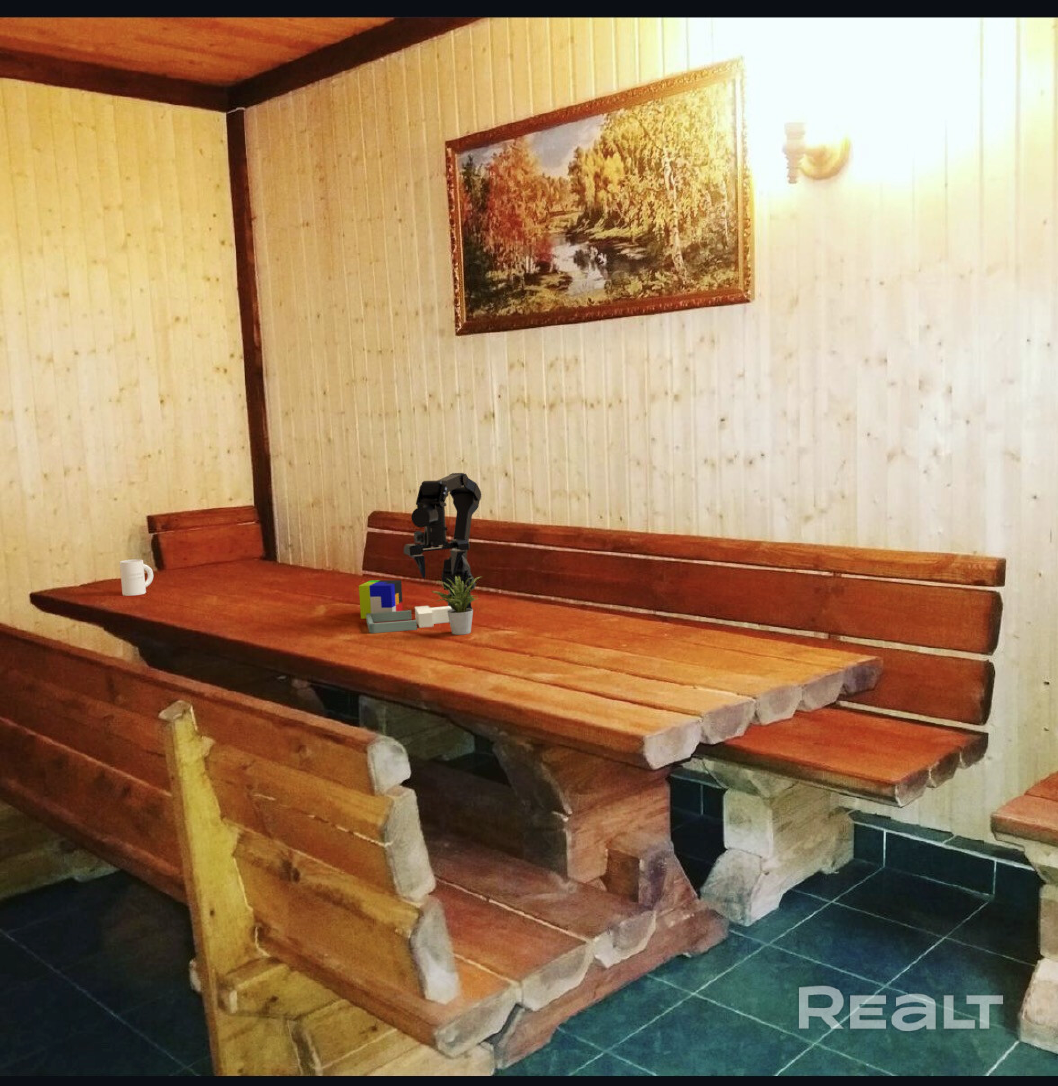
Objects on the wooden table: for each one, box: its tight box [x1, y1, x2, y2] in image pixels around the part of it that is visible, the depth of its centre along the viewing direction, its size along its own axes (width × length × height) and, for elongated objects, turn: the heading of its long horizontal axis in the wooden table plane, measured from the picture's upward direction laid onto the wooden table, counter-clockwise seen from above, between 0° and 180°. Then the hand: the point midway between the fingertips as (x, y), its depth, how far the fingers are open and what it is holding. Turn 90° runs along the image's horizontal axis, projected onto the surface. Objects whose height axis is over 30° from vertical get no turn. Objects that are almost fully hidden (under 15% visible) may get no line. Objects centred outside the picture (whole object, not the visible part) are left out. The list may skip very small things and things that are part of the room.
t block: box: [414, 605, 452, 629], centre depth 322 cm, size 10×12×4 cm
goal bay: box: [365, 609, 418, 634], centre depth 320 cm, size 13×17×2 cm
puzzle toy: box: [358, 579, 404, 619], centre depth 337 cm, size 10×10×10 cm
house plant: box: [431, 576, 483, 636], centre depth 306 cm, size 14×14×16 cm
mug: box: [119, 558, 154, 597], centre depth 401 cm, size 8×12×12 cm
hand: (438, 576), depth 326 cm, fingers open, 9 cm apart
